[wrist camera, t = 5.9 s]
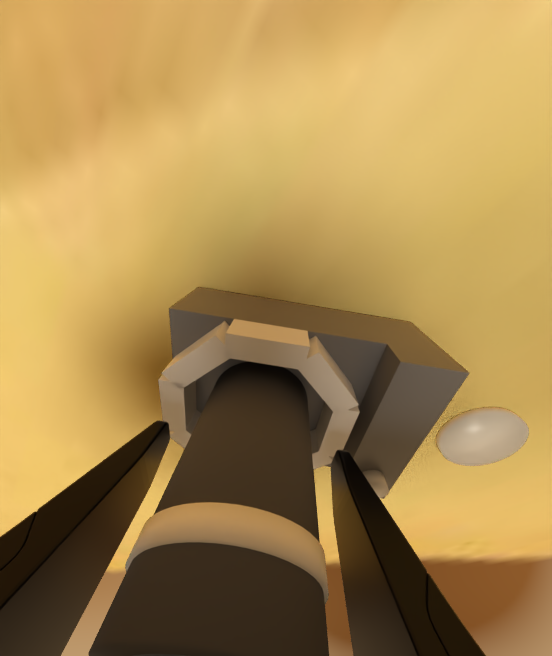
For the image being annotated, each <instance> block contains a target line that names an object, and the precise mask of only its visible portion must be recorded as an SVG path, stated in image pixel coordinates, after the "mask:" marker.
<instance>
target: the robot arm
mask: <svg viewBox="0 0 552 656" xmlns="http://www.w3.org/2000/svg"><path fill="white" fill-rule="evenodd" d="M169 440H170V430H169V423H168V422H165V421H156V422H154V423H153V424H152V425H150V426H149V427H148V428H146V429H145V430H144V431H142V432H141V433H140V434H138V435H137V436H136V437H134V438H133V439H131V440H130V441H129V442H127V443H126V444H125V445H123V446H122V447H121V448H119V449H118V450H117V451H115V452H114V453H113V454H111V455H110V456H109V457H107V458H106V459H105V460H103V461H102V462H101V463H99V464H98V465H97V466H95V467H94V468H93V469H91V470H90V471H89V472H87V473H86V474H85V475H83V476H82V477H81V478H79V479H78V480H77V481H75V482H74V483H72V484H71V485H70V486H68V487H67V488H66V489H64V490H63V491H62V492H60V493H59V494H58V495H56V496H55V497H54V498H52V499H51V500H50V501H48V502H47V503H46V504H44V505H43V506H42V507H40V508H39V509H38V511H37V512H33V513H32V514H31V515H29V516H28V517H27V518H25V519H24V520H23V521H21V522H20V523H19V524H17V525H16V526H15V527H13V528H12V529H10V530H9V531H8V532H6V533H5V534H4V535H2V536H1V537H0V656H61V654H62V652H63V650H64V648H65V646H66V645H67V643H68V641H69V639H70V637H71V635H72V633H73V631H74V629H75V628H76V626H77V624H78V622H79V620H80V618H81V616H82V614H83V613H84V610H85V609H86V607H87V605H88V603H89V601H90V599H91V598H92V596H93V594H94V592H95V590H96V588H97V586H98V584H99V582H100V580H101V579H102V577H103V575H104V573H105V571H106V569H107V567H108V566H109V564H110V562H111V560H112V558H113V556H114V554H115V552H116V550H117V549H118V547H119V545H120V543H121V541H122V539H123V537H124V535H125V533H126V532H127V530H128V528H129V526H130V524H131V522H132V520H133V518H134V517H135V515H136V513H137V511H138V509H139V507H140V505H141V503H142V501H143V500H144V498H145V496H146V494H147V492H148V490H149V488H150V486H151V484H152V481H153V479H154V477H155V474H156V472H157V469H158V467H159V465H160V462H161V460H162V457H163V455H164V453H165V450H166V448H167V446H168V443H169ZM331 482H332V501H333V517H334V525H335V532H336V538H337V545H338V552H339V559H340V566H341V573H342V580H343V586H344V593H345V600H346V607H347V614H348V621H349V627H350V634H351V642H352V648H353V655H354V656H486V655H485V654H484V652H483V651H482V650H481V648H480V647H479V645H478V644H477V643H476V641H475V640H474V639H473V637H472V636H471V634H470V633H469V632H468V630H467V629H466V627H465V626H464V625H463V623H462V622H461V620H460V619H459V618H458V616H457V615H456V613H455V612H454V610H453V609H452V607H451V606H450V604H449V603H448V602H447V600H446V598H445V597H444V595H443V594H442V592H441V591H440V590H439V588H438V586H437V585H436V583H435V582H434V580H433V579H432V578H431V576H430V574H428V573H427V570H426V569H425V567H424V565H423V564H422V562H421V561H420V559H419V558H418V556H417V555H416V553H415V552H414V550H413V549H412V547H411V546H410V544H409V543H408V541H407V539H406V538H405V536H404V535H403V533H402V532H401V530H400V529H399V527H398V526H397V524H396V523H395V521H394V520H393V518H392V517H391V515H390V514H389V512H388V511H387V509H386V508H385V506H384V505H383V503H382V501H381V500H380V498H379V497H378V495H377V494H376V492H375V491H374V489H373V488H372V486H371V485H370V483H369V482H368V480H367V479H366V477H365V476H364V474H363V473H362V471H361V470H360V468H359V466H358V465H357V463H356V462H355V460H354V459H353V457H352V456H351V454H350V453H349V452H348V451H345V450H337V451H336V453H335V455H334V458H333V460H332V463H331Z"/></svg>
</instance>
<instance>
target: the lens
mask: <svg viewBox="0 0 552 656" xmlns="http://www.w3.org/2000/svg"><path fill="white" fill-rule="evenodd" d="M125 568H126V575H125V577H124V579H123V581H122V583H121V585H120V587H119V589H118V592H117V594H116V596H115V598H114V600H113V602H112V604H111V607H110V609H109V611H108V613H107V615H106V617H105V619H104V621H103V623H102V626H101V628H100V630H99V632H98V634H97V636H96V638H95V641H94V643H93V645H92V647H91V649H90V651H89V656H329V650H328V638H327V626H326V613H325V604H326V602H327V600H328V595H329V594H328V584H327V573H326V563H325V554H324V550H323V548H322V546H321V544H320V542H319V530H318V518H317V506H316V495H315V483H314V471H313V459H312V447H311V435H310V423H309V411H308V400H307V393H306V390H305V388H304V386H303V384H302V382H301V381H300V380H299V379H298V378H297V377H296V376H295V375H294V374H293V373H292V372H291V371H289V370H287V369H286V368H284V367H280V366H274V365H268V364H262V363H256V362H250V361H248V362H243V363H239V364H236V365H234V366H232V367H230V368H228V369H227V370H226V371H224V372H223V373H222V374H221V375H220V377H219V378H218V380H217V382H216V384H215V386H214V388H213V390H212V392H211V394H210V396H209V398H208V401H207V403H206V405H205V407H204V409H203V411H202V413H201V415H200V418H199V420H198V422H197V424H196V426H195V428H194V430H193V432H192V434H191V437H190V439H189V441H188V443H187V445H186V447H185V449H184V451H183V454H182V456H181V458H180V460H179V462H178V464H177V466H176V468H175V471H174V473H173V475H172V477H171V479H170V481H169V483H168V485H167V488H166V490H165V492H164V494H163V496H162V498H161V500H160V502H159V505H158V507H157V509H156V511H155V513H154V515H153V516H152V517H150V518H149V519H148V520H147V522H146V523H145V525H144V527H143V529H142V531H141V533H140V535H139V537H138V539H137V541H136V543H135V545H134V547H133V549H132V551H131V553H130V555H129V557H128V559H127V562H126V567H125Z"/></svg>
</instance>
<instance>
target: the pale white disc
mask: <svg viewBox="0 0 552 656" xmlns="http://www.w3.org/2000/svg"><path fill="white" fill-rule="evenodd" d="M528 435H529V429H528V426H527V424H526V423H525V422H524V421H523V420H522V419H521V418H520V417H519V416H517V415H516V414H515V413H514V412H512V411H510V410H507V409H504V408H498V407H483V408H477V409H472V410H469V411H466V412H463V413H461V414H459V415H457V416H455V417H453V418H452V419H450V420H449V421H448V422H446V423H445V424H444V425H443V426H442V427H441V429H440V430H439V432H438V434H437V437H436V444H437V446H438V448H439V450H440V451H441V453H442V455H443V456H444V457H445V458H446V459H447V460H449V461H451V462H453V463H456V464H459V465H466V466H478V465H485V464H490V463H494V462H497V461H500V460H502V459H504V458H507V457H509V456H510V455H512V454H513V453H515V452H516V451H518V450H519V449H520V448H521V447H522V446H523V445H524V443H525V442H526V440H527V438H528Z"/></svg>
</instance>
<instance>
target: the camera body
mask: <svg viewBox="0 0 552 656" xmlns="http://www.w3.org/2000/svg"><path fill="white" fill-rule="evenodd" d="M169 315H170V328H171V342H172V355H173V360H172V361H171V362H170V363H169V364H168V365H167V367H166V368H165V369H164V370H163V371H162V376H161V377H160V378H159V379H158V383H159V391H160V400H161V409H162V417H163V421H165V422H168V423H169V430H170V438H171V439H173V440H174V441H175V442H177V443H178V444H179V445H181V446H182V447H183V448H184V449H185V447H186V445H187V443H188V441H189V439H190V437H191V434H192V432H193V430H194V428H195V426H196V424H197V422H198V420H199V418H200V415H201V413H202V411H203V409H204V407H205V405H206V403H207V401H208V398H209V396H210V394H211V392H212V390H213V388H214V386H215V384H216V382H217V380H218V378H219V377H220V375H221V374H222V373H223V372H224V371H226V370H227V369H228V368H230V367H232V366H234V365H236V364H239V363H243V362H248V361H250V362H256V363H262V364H268V365H274V366H280V367H284V368H286V369H287V370H289V371H291V372H292V373H293V374H294V375H295V376H296V377H297V378H298V379H299V380H300V381H301V382H302V384H303V386H304V388H305V390H306V393H307V400H308V411H309V423H310V435H311V447H312V459H313V470H314V469H317V468H319V467H322V466H329V467H331V463H332V460H333V458H334V455H335V453H336V451H337V450H345V451H348V452H349V453H350V454H351V456H352V457H353V459H354V460H355V462H356V463H357V465H358V466H359V468H360V470H361V471H362V473H363V474H364V476H365V477H366V479H367V480H368V482H369V483H370V485H371V486H372V488H373V489H374V491H375V492H376V494H377V495H378V497H379V498H383V499H384V498H385V496H386V495H387V494H388V493H389V490H390V489H391V488H392V486H393V485H394V483H395V482H396V480H397V479H398V477H399V476H400V474H401V473H402V471H403V470H404V468H405V467H406V466H407V464H408V463H409V461H410V460H411V458H412V457H413V455H414V454H415V452H416V451H417V449H418V448H419V446H420V445H421V444H422V442H423V441H424V439H425V438H426V436H427V435H428V433H429V432H430V430H431V429H432V427H433V426H434V424H435V423H436V422H437V420H438V419H439V417H440V416H441V414H442V413H443V411H444V410H445V408H446V407H447V405H448V404H449V402H450V401H451V400H452V398H453V397H454V395H455V394H456V392H457V391H458V389H459V388H460V386H461V385H462V383H463V382H464V380H465V379H466V378H467V376H468V375H469V372H468V371H467V370H465V369H464V368H463V367H462V366H461V365H460V364H459V363H457V362H456V361H455V360H454V359H453V358H452V357H450V356H449V355H448V354H447V353H446V352H445V351H444V350H442V349H441V348H440V347H439V346H438V345H437V344H435V343H434V342H433V341H432V340H431V339H430V338H429V337H427V336H426V335H425V334H424V333H423V332H422V331H420V330H419V329H418V328H417V327H416V326H415V325H414V324H412V323H411V322H408V321H402V320H396V319H390V318H384V317H378V316H372V315H365V314H359V313H353V312H347V311H341V310H335V309H329V308H323V307H317V306H311V305H305V304H299V303H293V302H287V301H281V300H275V299H269V298H263V297H256V296H250V295H244V294H238V293H232V292H226V291H220V290H214V289H208V288H202V287H198V288H196V289H195V290H194V291H192V292H191V293H189V294H188V295H187V296H185V297H184V298H182V299H181V300H180V301H178V302H177V303H176V304H174V305H173V306H171V307H170V308H169Z"/></svg>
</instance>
